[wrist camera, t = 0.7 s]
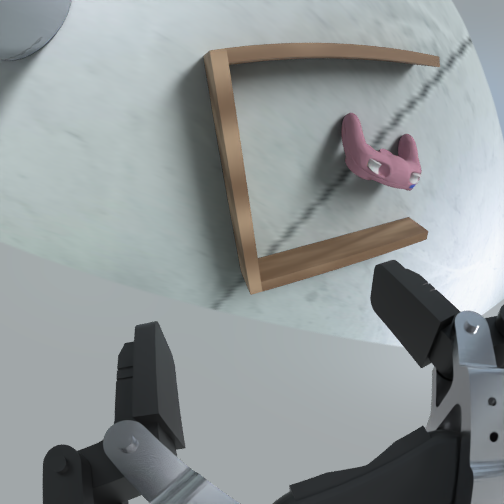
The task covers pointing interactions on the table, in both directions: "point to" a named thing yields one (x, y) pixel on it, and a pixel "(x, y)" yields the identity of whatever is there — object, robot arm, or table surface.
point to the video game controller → (380, 158)
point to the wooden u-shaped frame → (225, 119)
